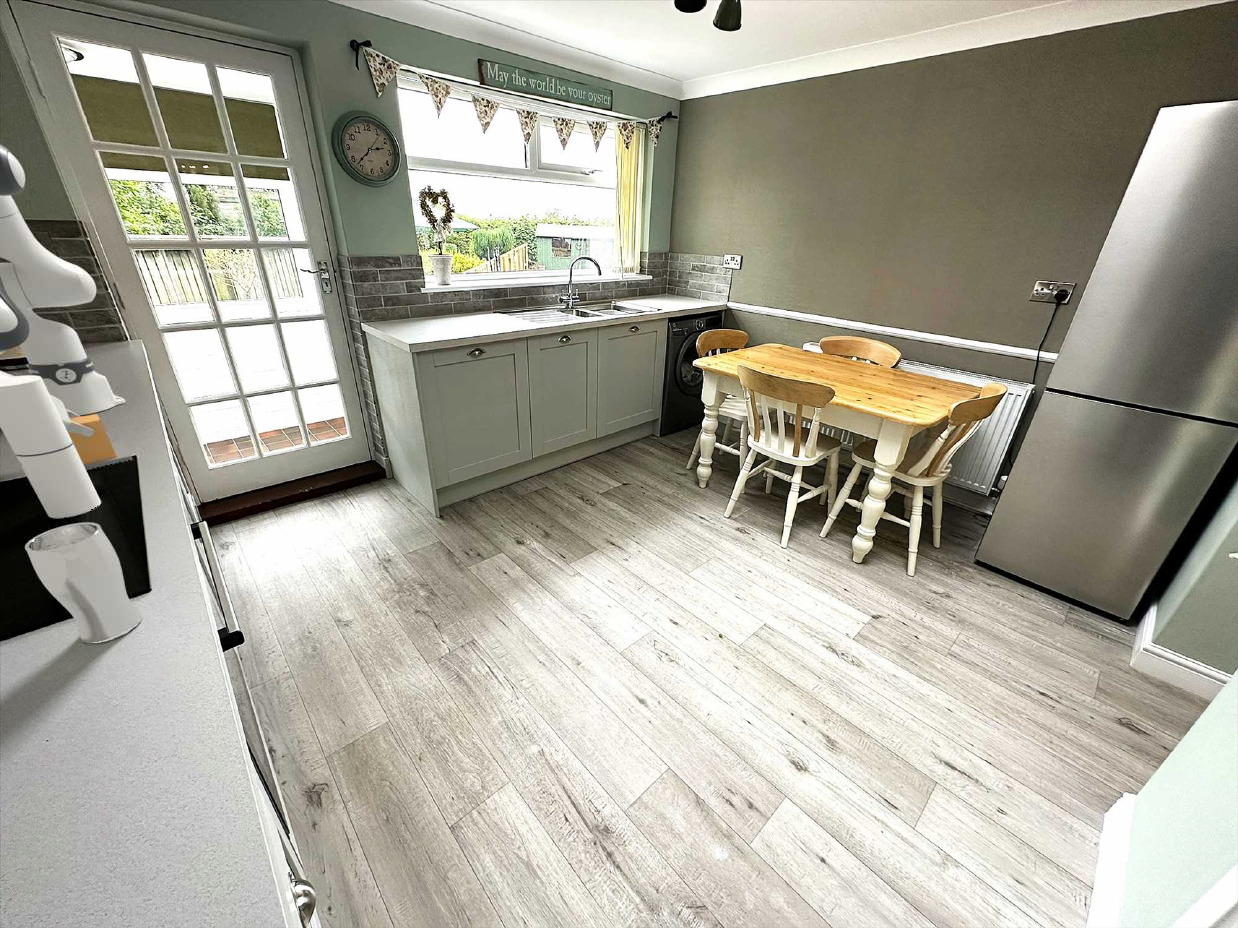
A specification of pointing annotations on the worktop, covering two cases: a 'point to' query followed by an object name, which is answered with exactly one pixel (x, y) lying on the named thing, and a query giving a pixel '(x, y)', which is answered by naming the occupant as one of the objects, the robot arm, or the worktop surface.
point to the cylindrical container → (44, 447)
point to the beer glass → (84, 579)
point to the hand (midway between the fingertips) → (90, 428)
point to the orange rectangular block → (92, 440)
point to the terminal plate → (121, 455)
